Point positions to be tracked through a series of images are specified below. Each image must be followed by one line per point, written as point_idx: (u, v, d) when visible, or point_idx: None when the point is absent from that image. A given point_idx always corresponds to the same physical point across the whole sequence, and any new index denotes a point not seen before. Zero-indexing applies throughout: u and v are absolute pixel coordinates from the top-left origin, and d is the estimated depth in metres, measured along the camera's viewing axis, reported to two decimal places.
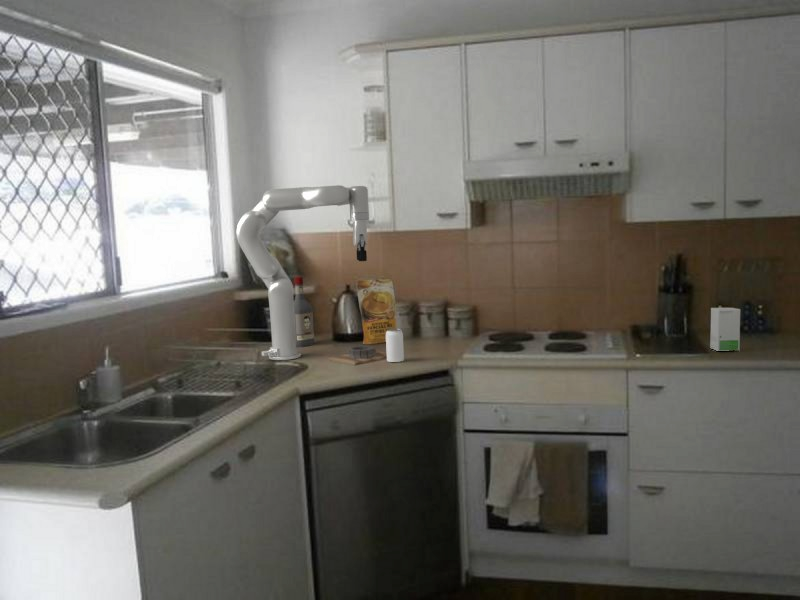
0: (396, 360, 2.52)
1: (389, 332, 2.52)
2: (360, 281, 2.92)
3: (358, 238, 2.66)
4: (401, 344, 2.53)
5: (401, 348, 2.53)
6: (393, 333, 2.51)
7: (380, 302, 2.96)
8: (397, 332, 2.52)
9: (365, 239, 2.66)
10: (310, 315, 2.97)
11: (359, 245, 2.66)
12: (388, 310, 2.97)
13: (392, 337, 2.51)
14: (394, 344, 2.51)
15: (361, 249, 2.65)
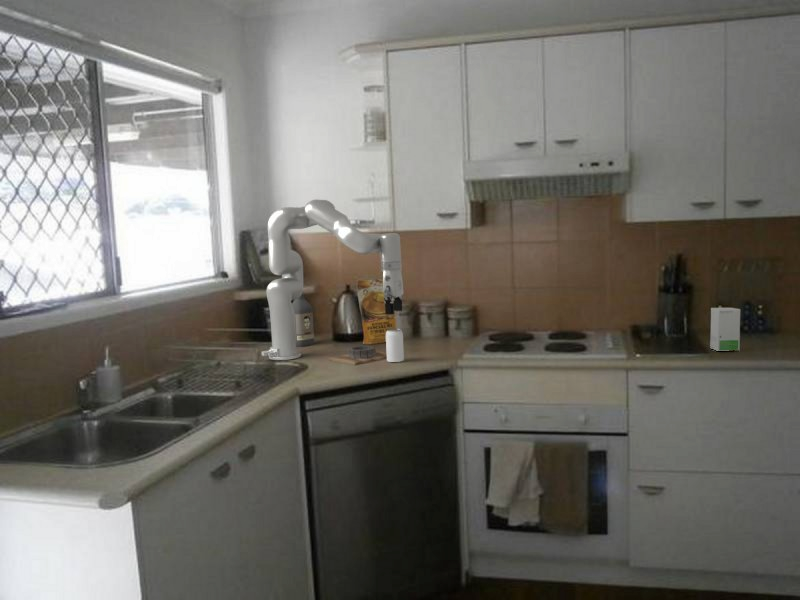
0: (396, 360, 2.52)
1: (389, 332, 2.52)
2: (360, 281, 2.92)
3: None
4: (401, 344, 2.53)
5: (401, 348, 2.53)
6: (393, 333, 2.51)
7: (380, 302, 2.96)
8: (397, 332, 2.52)
9: None
10: (310, 315, 2.97)
11: None
12: None
13: (392, 337, 2.51)
14: (394, 344, 2.51)
15: None
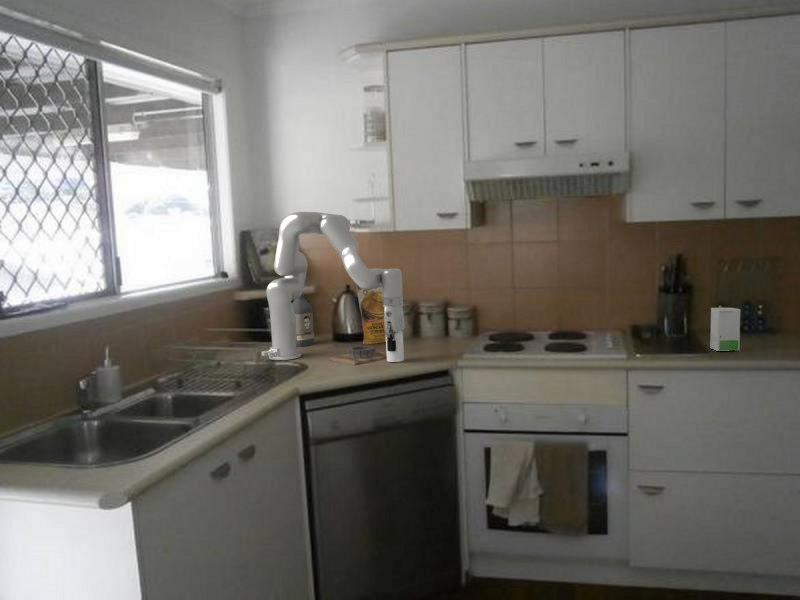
0: (396, 360, 2.52)
1: None
2: None
3: None
4: (401, 344, 2.53)
5: (401, 348, 2.53)
6: None
7: (380, 302, 2.96)
8: None
9: None
10: (310, 315, 2.97)
11: None
12: None
13: None
14: None
15: None
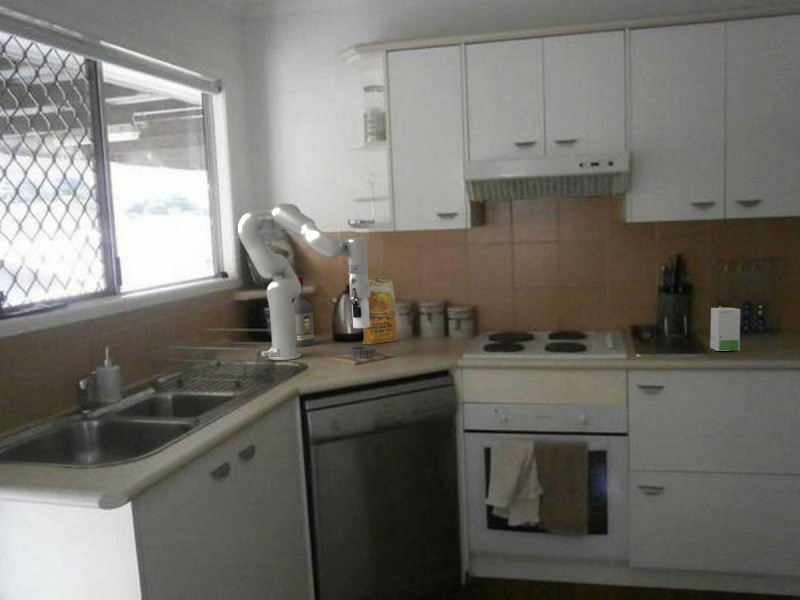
0: (362, 326, 2.59)
1: None
2: None
3: None
4: (367, 310, 2.60)
5: (367, 314, 2.60)
6: None
7: (380, 302, 2.96)
8: None
9: None
10: (310, 315, 2.97)
11: None
12: (388, 310, 2.97)
13: None
14: None
15: None
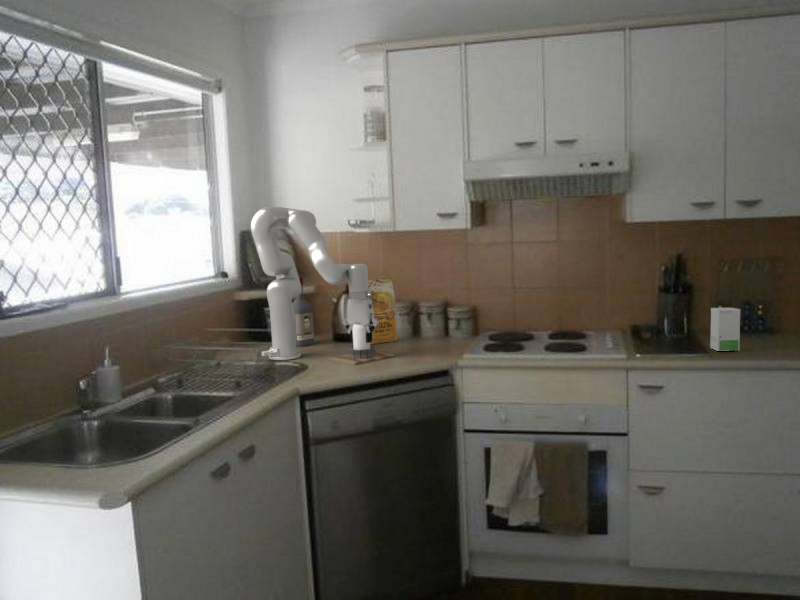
0: None
1: None
2: None
3: None
4: None
5: None
6: None
7: (380, 302, 2.96)
8: None
9: None
10: (310, 315, 2.97)
11: None
12: (388, 310, 2.97)
13: None
14: None
15: None
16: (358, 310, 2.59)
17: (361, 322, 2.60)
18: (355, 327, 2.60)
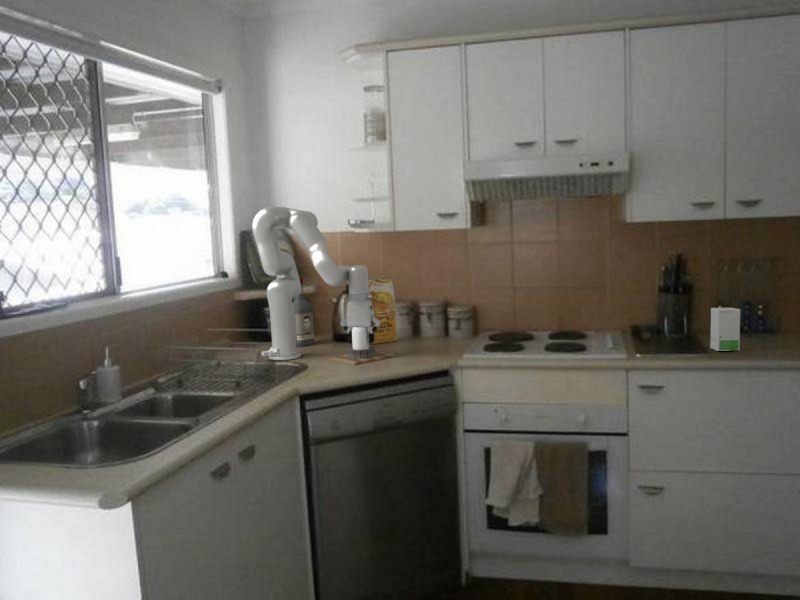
0: None
1: (365, 327, 2.61)
2: None
3: None
4: None
5: None
6: None
7: (380, 302, 2.96)
8: None
9: (346, 320, 2.62)
10: (310, 315, 2.97)
11: None
12: (388, 310, 2.97)
13: None
14: (368, 337, 2.63)
15: None
16: (359, 312, 2.59)
17: (362, 324, 2.60)
18: (355, 330, 2.60)
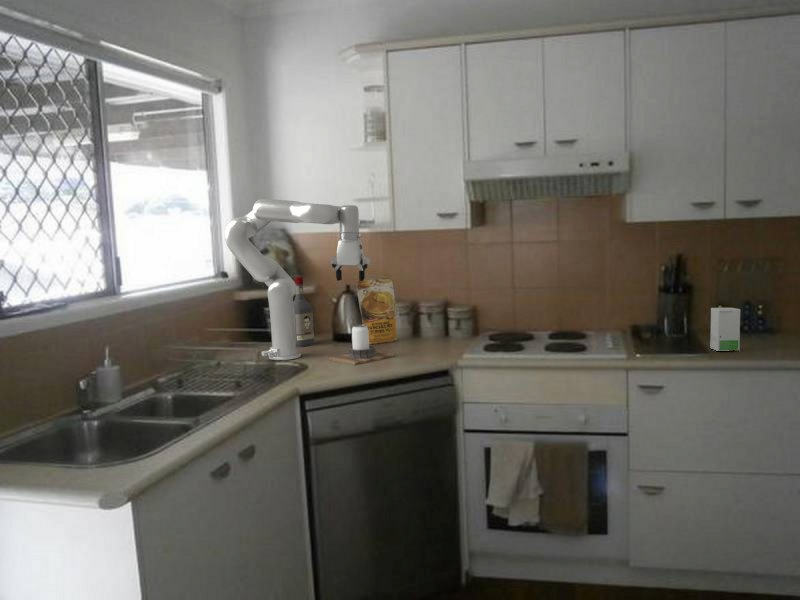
0: None
1: (365, 327, 2.61)
2: (360, 281, 2.92)
3: None
4: None
5: None
6: None
7: (380, 302, 2.96)
8: None
9: None
10: (310, 315, 2.97)
11: None
12: (388, 310, 2.97)
13: None
14: (368, 337, 2.63)
15: None
16: (349, 250, 2.64)
17: (351, 262, 2.65)
18: (355, 330, 2.60)
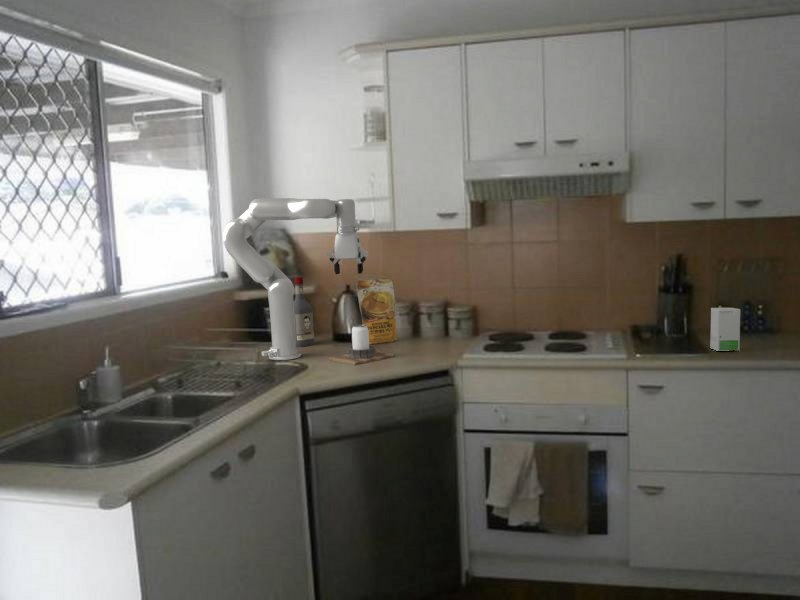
0: None
1: (365, 327, 2.61)
2: (360, 281, 2.92)
3: None
4: None
5: None
6: None
7: (380, 302, 2.96)
8: None
9: None
10: (310, 315, 2.97)
11: None
12: (388, 310, 2.97)
13: None
14: (368, 337, 2.63)
15: None
16: (347, 244, 2.67)
17: (349, 255, 2.68)
18: (355, 330, 2.60)
